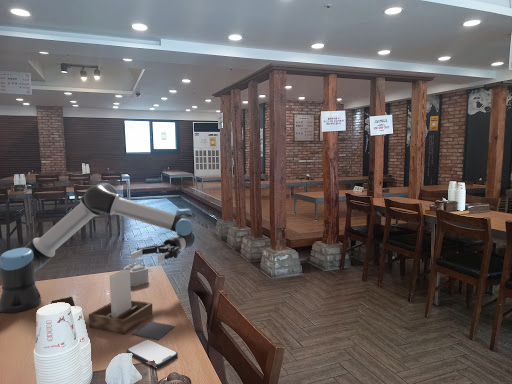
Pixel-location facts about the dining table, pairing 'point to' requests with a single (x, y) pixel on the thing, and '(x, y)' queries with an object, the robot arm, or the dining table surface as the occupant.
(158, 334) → the mat
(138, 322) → the crate
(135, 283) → the lumpy-topped squat cylinder
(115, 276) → the cover plate
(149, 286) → the dining table surface
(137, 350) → the phone case
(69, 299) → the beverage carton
